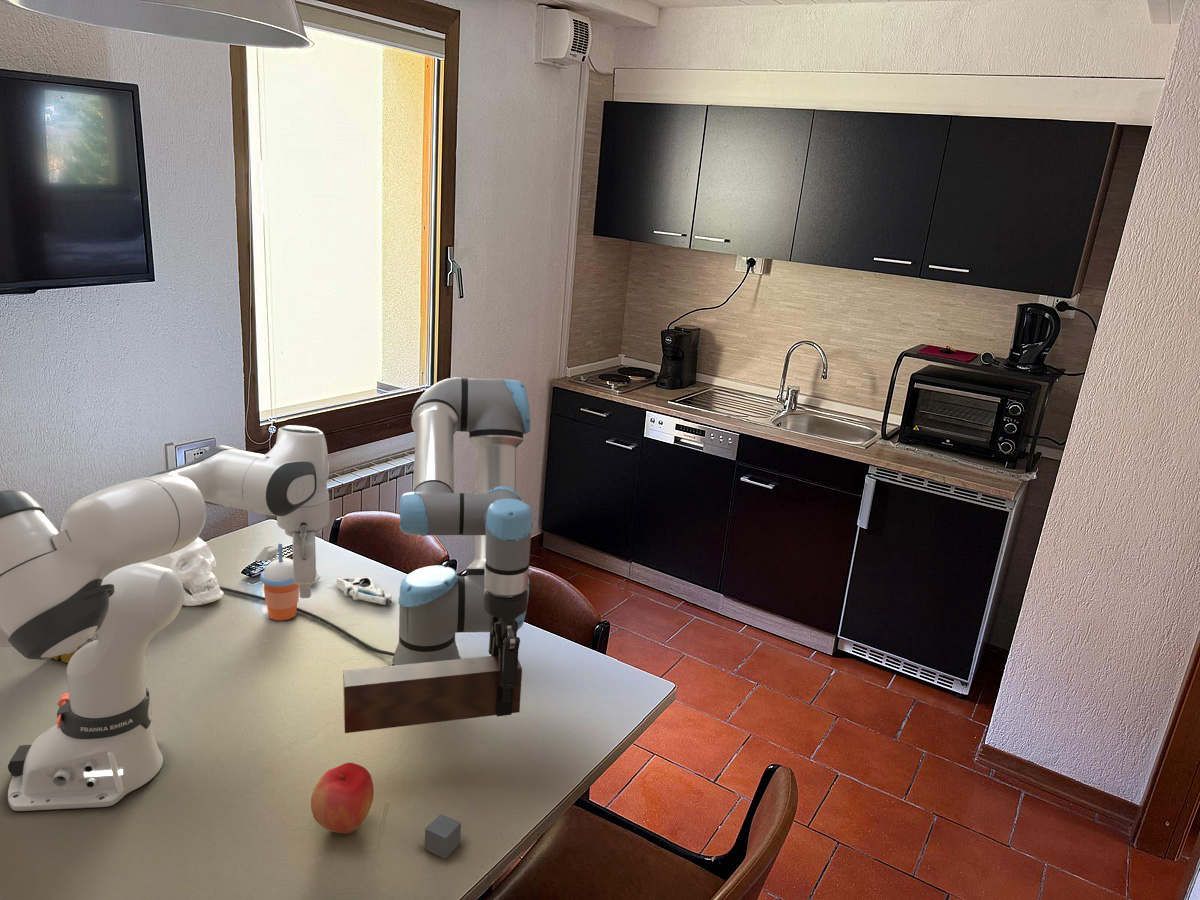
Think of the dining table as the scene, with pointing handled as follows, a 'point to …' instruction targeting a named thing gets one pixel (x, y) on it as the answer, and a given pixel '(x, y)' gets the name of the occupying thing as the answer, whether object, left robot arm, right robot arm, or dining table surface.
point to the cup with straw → (280, 588)
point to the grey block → (442, 836)
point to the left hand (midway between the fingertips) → (305, 584)
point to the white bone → (271, 553)
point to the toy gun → (363, 590)
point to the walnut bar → (422, 693)
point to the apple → (342, 798)
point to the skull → (193, 572)
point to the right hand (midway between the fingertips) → (500, 704)
